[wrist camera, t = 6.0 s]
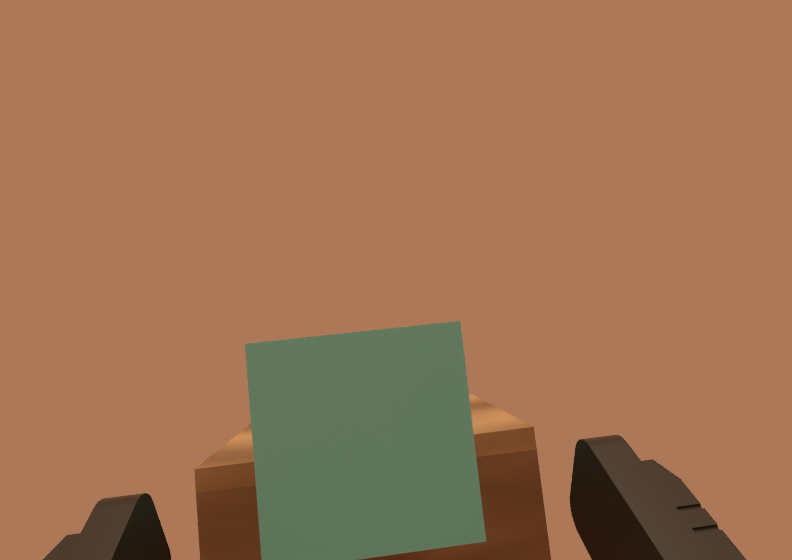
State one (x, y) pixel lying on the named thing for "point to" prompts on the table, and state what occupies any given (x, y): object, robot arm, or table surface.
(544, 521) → the stand
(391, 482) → the rail
